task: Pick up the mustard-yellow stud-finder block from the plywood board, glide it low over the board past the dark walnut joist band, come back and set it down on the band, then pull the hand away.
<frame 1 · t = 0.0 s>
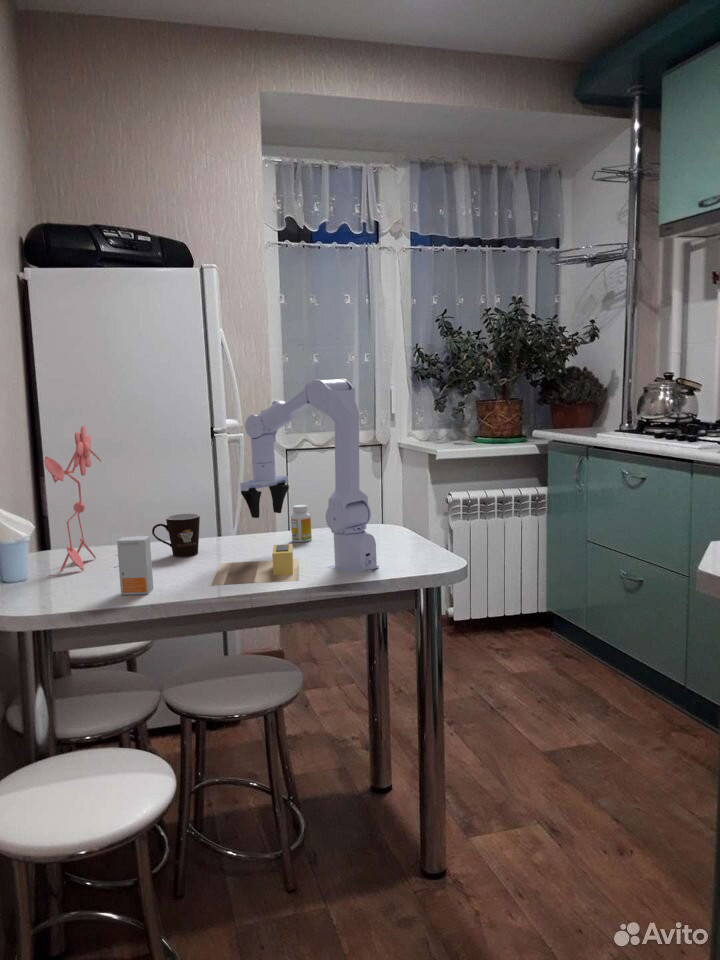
hand: (266, 515, 193), 10 cm above the table, fingers open, 7 cm apart
skincare box: (137, 593, 163), on the table
figurine: (94, 565, 189), on the table
coffee mug: (179, 555, 197), on the table
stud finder: (283, 569, 175), point 1 cm above the table, touching subfloor board
supplement bottle: (302, 541, 209), on the table
subfloor board: (257, 573, 174), on the table
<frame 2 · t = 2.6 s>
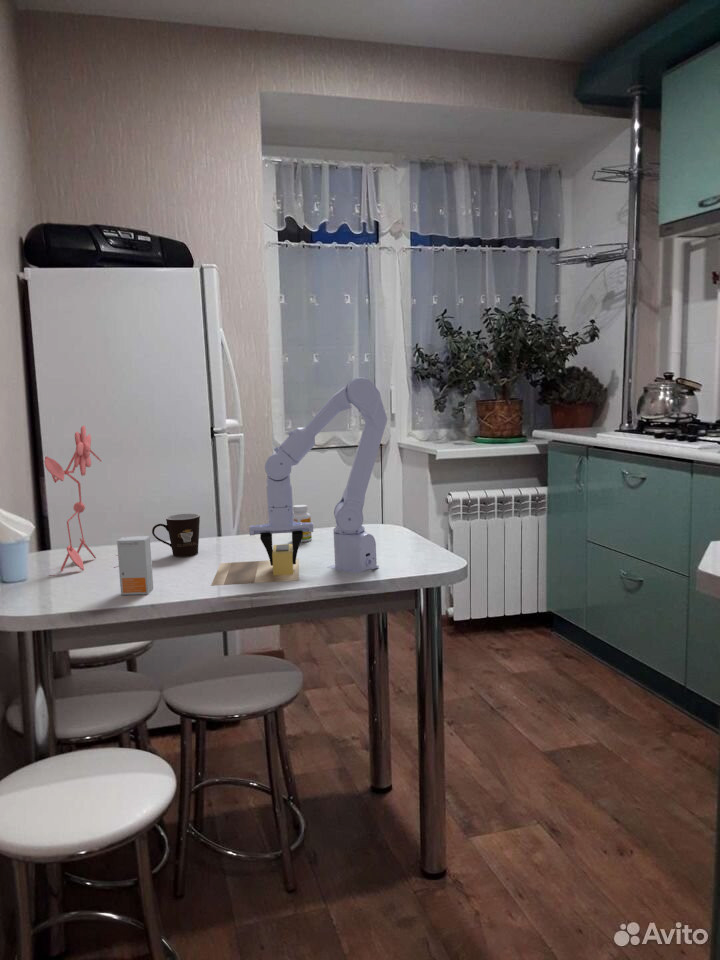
hand: (283, 563, 174), 2 cm above the table, fingers closed on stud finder, 4 cm apart
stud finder: (283, 569, 175), point 1 cm above the table, touching gripper, subfloor board
everything else where it was.
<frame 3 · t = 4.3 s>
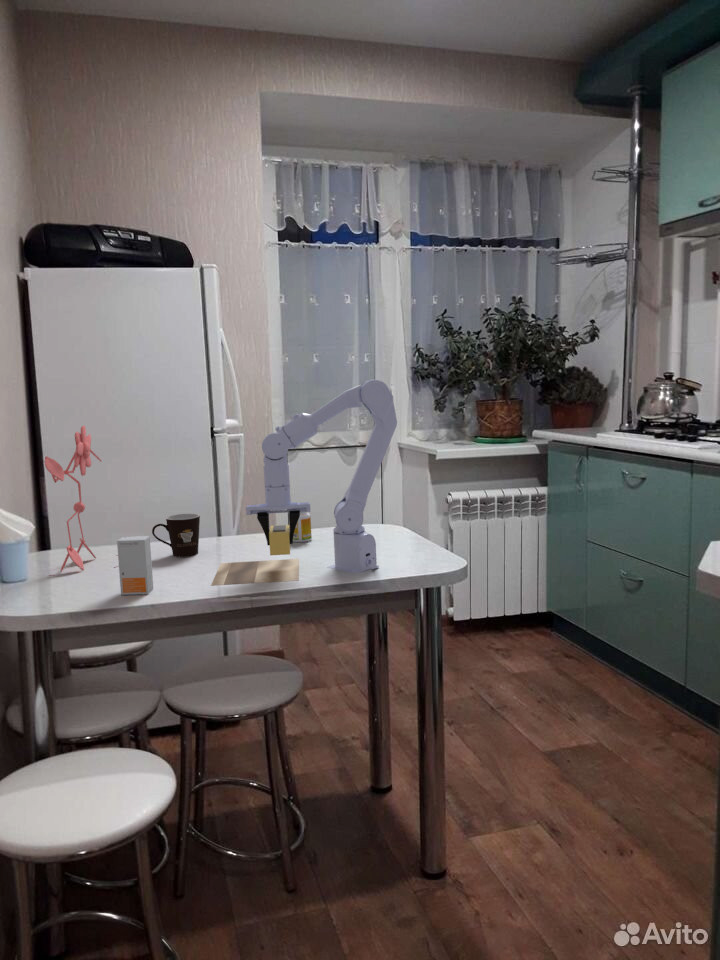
hand: (280, 543, 174), 7 cm above the table, fingers closed on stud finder, 4 cm apart
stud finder: (280, 550, 174), point 5 cm above the table, touching gripper
everything else where it was.
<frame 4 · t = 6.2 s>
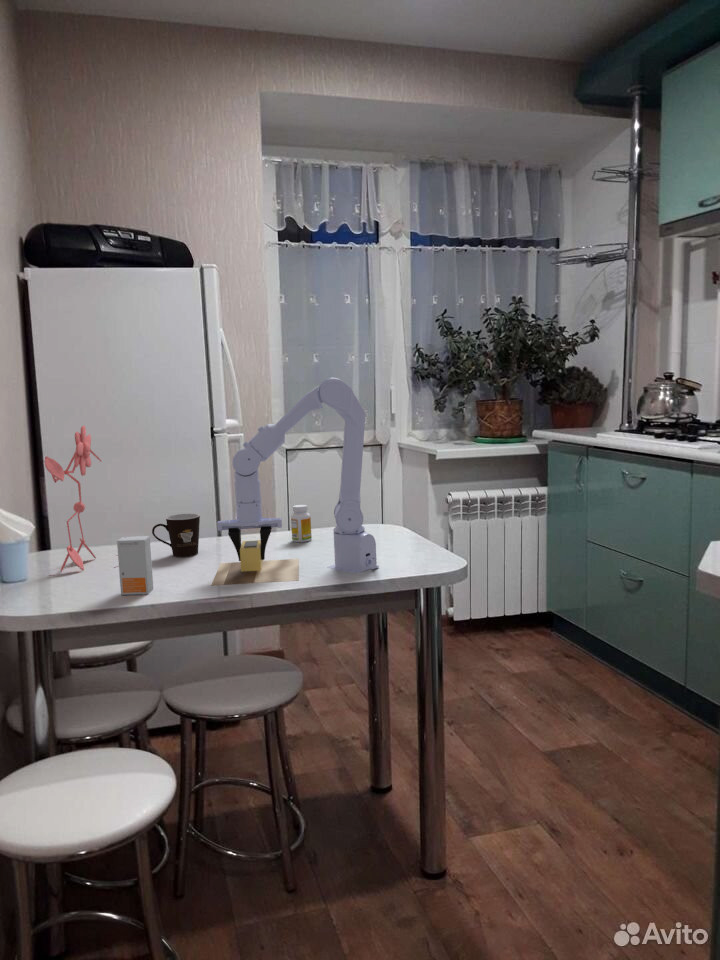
hand: (251, 559, 174), 3 cm above the table, fingers closed on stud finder, 4 cm apart
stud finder: (252, 566, 174), point 2 cm above the table, touching gripper
everything else where it was.
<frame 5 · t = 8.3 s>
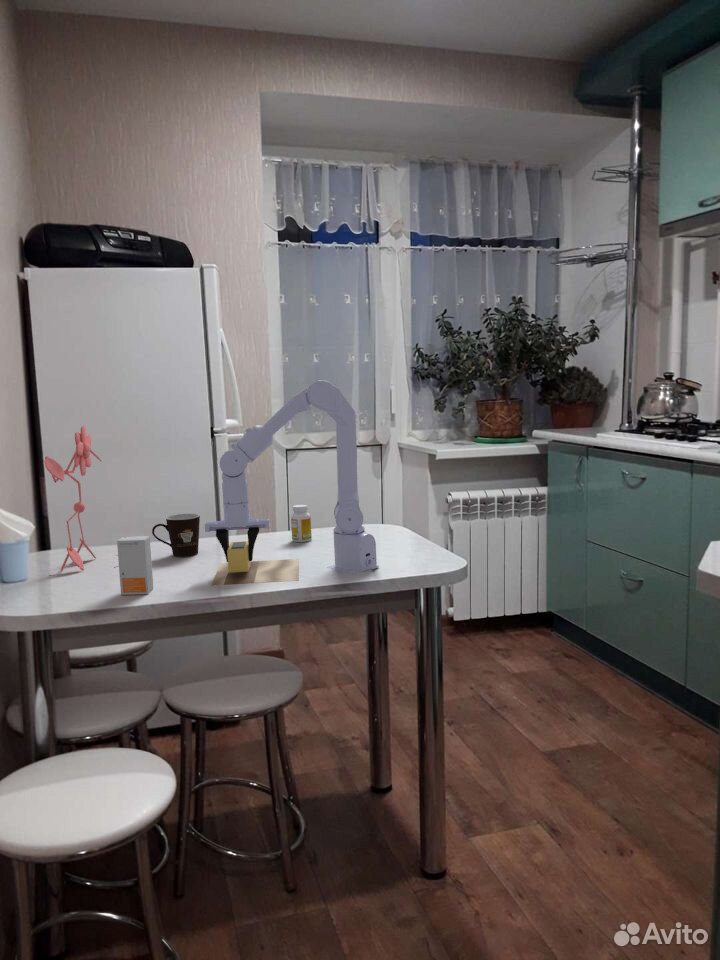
hand: (239, 560, 174), 3 cm above the table, fingers closed on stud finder, 4 cm apart
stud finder: (240, 567, 174), point 2 cm above the table, touching gripper
everything else where it was.
when the fingers open (3 cm above the table, at t = 9.9 s): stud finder stays where it is, resting on subfloor board.
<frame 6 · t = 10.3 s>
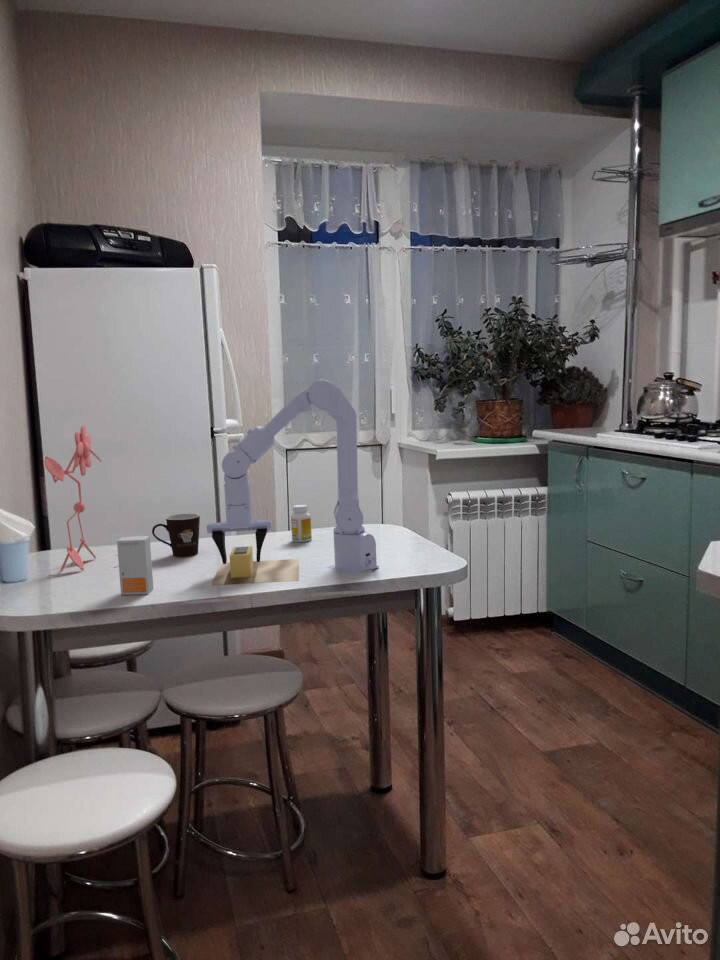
hand: (241, 562, 174), 3 cm above the table, fingers open, 7 cm apart
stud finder: (242, 572, 174), point 1 cm above the table, touching subfloor board
everything else where it was.
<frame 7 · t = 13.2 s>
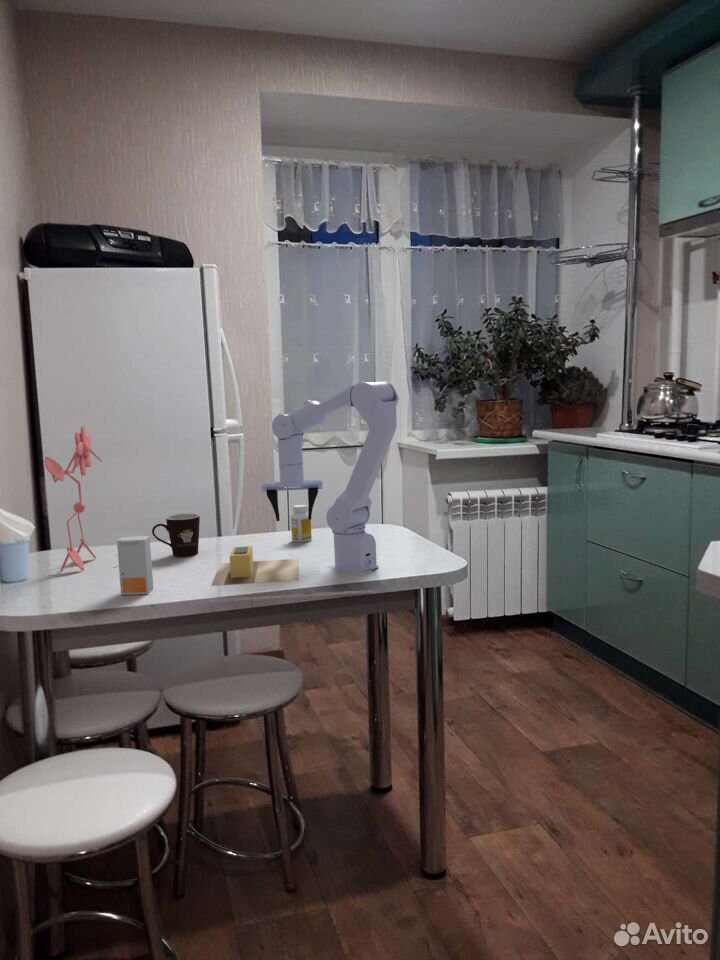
hand: (293, 519, 183), 10 cm above the table, fingers open, 7 cm apart
nothing on the table moved.
at the end: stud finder 0.0 cm from the target spot, point 0.6 cm above the table; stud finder tilted 0°; the gripper is holding nothing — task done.
